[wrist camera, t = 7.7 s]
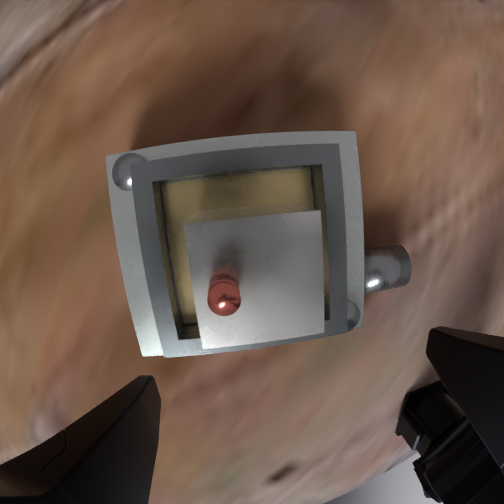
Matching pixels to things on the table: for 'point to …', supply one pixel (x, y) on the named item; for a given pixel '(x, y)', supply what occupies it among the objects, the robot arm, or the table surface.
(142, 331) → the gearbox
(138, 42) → the table surface
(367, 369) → the table surface
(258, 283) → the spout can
